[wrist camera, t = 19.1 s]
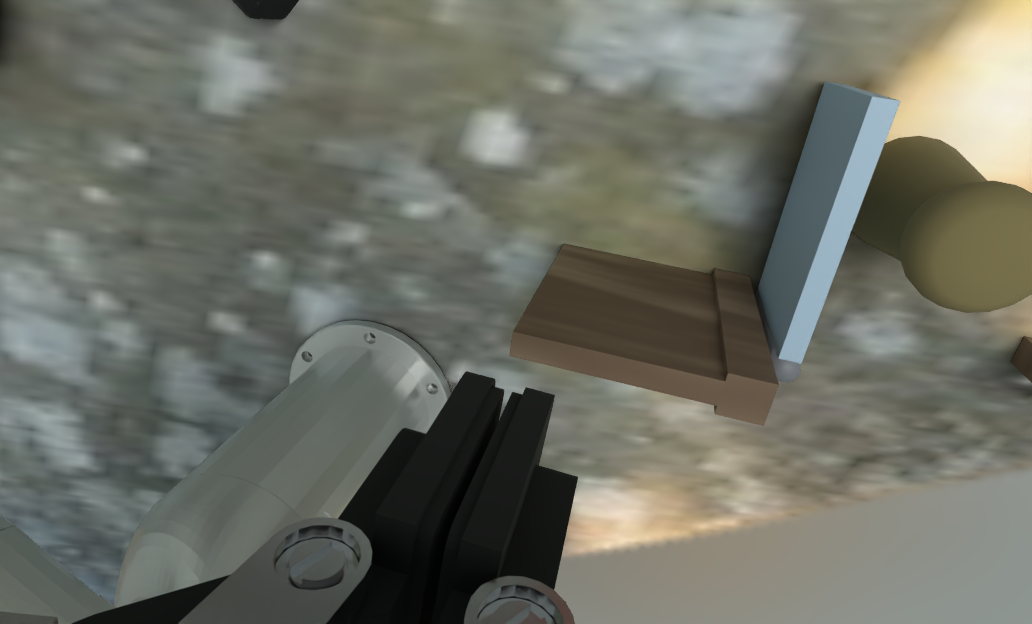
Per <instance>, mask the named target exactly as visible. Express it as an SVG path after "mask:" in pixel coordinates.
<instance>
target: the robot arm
mask: <svg viewBox="0 0 1032 624" xmlns="http://www.w3.org/2000/svg"><path fill="white" fill-rule="evenodd" d="M503 396H504V389H500V388H496V387H495V379H493V378H489V377H486V376H482V375H478V374H475V373H471V372H465V373H464V375H463V376H462V378H461V379H460V381H459V382H458V384H457V386H456V387H455V389H454V390H453V392H452V394H451V392H450V389H449V385H448V383H447V381H446V379H445V377H444V375H443V373H442V371H441V369H440V368H439V366H438V365H437V364H436V362H435V361H434V360H433V359H432V357H431V356H430V355H429V354H428V353H427V352H426V351H425V350H424V349H423V348H422V347H421V346H420V345H419V344H418V343H416V342H415V341H413V340H412V339H410V338H409V337H408V336H406V335H405V334H403V333H401V332H399V331H397V330H395V329H393V328H390V327H388V326H385V325H382V324H378V323H375V322H370V321H360V320H352V321H341V322H338V323H335V324H332V325H329V326H326V327H325V328H323V329H321V330H320V331H318V332H316V333H315V334H314V335H313V336H312V337H310V338H309V339H308V340H307V341H305V343H304V344H303V345H302V346H301V347H300V348H299V350H298V351H297V353H296V355H295V358H294V360H293V362H292V365H291V370H290V375H289V386H288V387H287V388H285V389H284V390H283V391H282V392H281V393H280V394H279V395H278V396H276V397H275V398H274V399H273V400H272V401H271V402H270V403H268V404H267V405H266V406H265V407H264V408H263V409H262V410H261V411H259V412H258V413H257V414H256V415H255V416H254V417H253V418H251V419H250V420H249V421H248V422H247V423H246V424H245V425H244V426H242V427H241V428H240V429H239V430H238V431H237V432H236V433H235V434H233V435H232V436H231V437H230V438H229V439H228V440H227V441H225V442H224V443H223V444H222V445H221V446H220V447H219V448H218V449H216V450H215V451H214V452H213V453H212V454H211V455H210V456H208V457H207V458H206V459H205V460H204V461H203V462H202V463H201V464H199V465H198V466H197V467H196V468H195V469H194V470H193V471H191V472H190V473H189V474H188V475H187V476H186V477H185V478H184V479H182V480H181V481H180V482H179V483H178V484H177V485H176V486H175V487H173V488H172V489H171V490H170V491H169V492H168V493H167V494H166V495H165V496H163V497H162V498H161V499H160V500H159V501H158V502H157V503H156V504H155V505H154V506H153V507H152V508H151V510H150V511H149V512H148V513H147V514H146V516H145V517H144V519H143V520H142V521H141V523H140V524H139V526H138V528H137V530H136V531H135V533H134V535H133V537H132V539H131V541H130V543H129V546H128V548H127V551H126V554H125V557H124V560H123V563H122V566H121V570H120V575H119V579H118V584H117V588H116V594H115V600H114V605H113V604H111V603H110V602H109V601H107V600H106V599H105V598H103V597H102V596H101V595H100V596H98V595H97V594H96V593H95V592H93V591H92V590H91V589H90V588H89V587H87V586H86V585H85V584H84V583H83V582H82V581H80V580H79V579H78V578H77V577H76V576H74V575H73V574H72V573H71V572H70V571H69V570H67V569H66V568H65V567H64V566H63V565H61V564H60V563H59V562H58V561H57V560H55V559H54V558H53V557H52V556H51V555H50V554H48V553H47V552H46V551H45V550H44V549H42V548H41V547H40V546H39V545H38V544H37V543H35V542H34V541H33V540H32V539H31V538H29V537H28V536H27V535H26V534H25V533H23V532H22V531H21V530H20V529H19V528H18V527H16V526H14V525H13V524H12V523H11V522H9V521H8V520H7V519H6V518H5V517H3V516H2V515H1V514H0V624H575V623H574V618H573V615H572V613H571V611H570V609H569V608H568V606H567V604H566V602H565V601H564V600H563V599H562V598H561V597H560V596H559V595H558V594H557V593H556V592H555V591H554V588H555V583H556V579H557V574H558V569H559V565H560V560H561V555H562V550H563V546H564V541H565V536H566V532H567V527H568V522H569V517H570V513H571V508H572V503H573V499H574V494H575V489H576V484H577V479H578V477H576V476H573V475H569V474H566V473H562V472H559V471H555V470H552V469H548V468H545V467H541V466H539V462H540V458H541V454H542V449H543V445H544V441H545V437H546V432H547V428H548V424H549V420H550V415H551V411H552V407H553V402H554V397H555V395H553V394H549V393H545V392H541V391H538V390H534V389H530V388H527V387H526V388H525V390H524V392H523V395H522V394H519V393H515V392H512V394H511V396H510V398H509V400H508V403H507V405H506V407H505V409H504V411H503V413H502V416H501V418H500V420H499V417H500V412H501V407H502V402H503Z"/></svg>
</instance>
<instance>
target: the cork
mask: <svg viewBox="0 0 1032 624" xmlns="http://www.w3.org/2000/svg"><path fill="white" fill-rule="evenodd" d="M852 231H853V232H854V233H855V234H856V236H857V237H858V238H860V239H862V240H864V241H865V242H867V243H869V244H870V245H872V246H874V247H876V248H878V249H879V250H881V251H883V252H885V253H887V254H889V255H890V256H892V257H894V258H896V259H898V260H899V261H901V263H902V266H903V269H904V272H905V275H906V277H907V278H908V279H909V281H910V282H911V283H912V284H913V286H914V287H915V288H916V289H917V290H918V292H919V293H920V294H921V295H922V296H923V297H925V298H927V299H929V300H930V301H932V302H934V303H936V304H937V305H939V306H942V307H945V308H948V309H953V310H957V311H961V312H966V313H970V312H990V311H993V310H997V309H1000V308H1004V307H1007V306H1011V305H1013V304H1015V303H1017V302H1019V301H1021V300H1022V299H1024V298H1026V297H1028V296H1029V295H1031V294H1032V193H1030V192H1029V191H1027V190H1025V189H1023V188H1021V187H1019V186H1016V185H1012V184H1007V183H1002V182H997V181H987V180H986V179H985V178H984V177H983V176H982V175H981V174H980V173H979V172H978V171H977V170H976V169H975V168H974V167H973V166H972V165H971V164H970V163H969V162H968V161H967V160H966V159H965V158H964V157H963V156H962V155H961V154H960V153H959V152H958V151H957V150H956V149H955V148H953V147H951V146H949V145H948V144H946V143H944V142H943V141H941V140H938V139H933V138H928V137H922V136H915V137H906V138H898V139H896V140H893V141H890V142H888V143H885V144H884V146H883V149H882V151H881V154H880V156H879V159H878V162H877V164H876V167H875V170H874V172H873V175H872V178H871V180H870V183H869V186H868V188H867V191H866V194H865V196H864V199H863V201H862V204H861V207H860V209H859V212H858V215H857V217H856V220H855V223H854V225H853V228H852Z"/></svg>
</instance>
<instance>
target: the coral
mask: <svg viewBox="0 0 1032 624" xmlns="http://www.w3.org/2000/svg"><path fill="white" fill-rule="evenodd" d="M298 1H299V0H233V2H234V3H235V4H236V5H237V6H238V7H239V8H240V9H241V10H242V11H243V13H244V14H245V15H246V16H247V17H249V18H254V19H260V18H263V19H283V18H285V17H286V16H287V15H288V14H289V13H290V11H291V10H292V8H293V7H294V6H295V5H296V3H297V2H298Z"/></svg>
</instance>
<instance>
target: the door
mask: <svg viewBox="0 0 1032 624" xmlns="http://www.w3.org/2000/svg"><path fill="white" fill-rule="evenodd" d="M899 103H900V101H899V100H895V99H892V98H889V97H885V96H882V95H879V94H875V93H872V92H869V91H865V90H862V89H858V88H855V87H852V86H848V85H844V84H838V83H832V82H825V83H824V86H823V89H822V92H821V95H820V98H819V101H818V105H817V108H816V111H815V114H814V117H813V120H812V123H811V126H810V129H809V132H808V135H807V138H806V142H805V145H804V148H803V151H802V154H801V157H800V160H799V163H798V166H797V169H796V172H795V175H794V178H793V182H792V185H791V188H790V191H789V194H788V197H787V200H786V203H785V206H784V209H783V212H782V215H781V218H780V222H779V225H778V228H777V231H776V234H775V237H774V240H773V243H772V246H771V249H770V252H769V255H768V258H767V262H766V265H765V268H764V271H763V274H762V277H761V280H760V283H759V286H758V290H757V291H756V292H755V294H754V295H755V299H756V303H757V307H758V310H759V314H760V318H761V321H762V325H763V329H764V332H765V336H766V340H767V343H768V347H769V351H770V354H771V358H772V362H773V366H774V369H775V373H776V377H777V380H779V381H781V382H791V381H793V380H795V379H796V378H798V376H799V375H800V371H801V369H800V365H799V363H800V364H801V363H802V360H803V358H804V355H805V352H806V350H807V347H808V344H809V342H810V339H811V337H812V334H813V331H814V329H815V326H816V323H817V321H818V318H819V315H820V313H821V310H822V307H823V305H824V302H825V299H826V297H827V294H828V292H829V289H830V286H831V284H832V281H833V278H834V276H835V273H836V270H837V268H838V265H839V262H840V260H841V257H842V254H843V252H844V249H845V246H846V244H847V241H848V239H849V236H850V233H851V231H852V228H853V225H854V223H855V220H856V217H857V215H858V212H859V209H860V207H861V204H862V201H863V199H864V196H865V194H866V191H867V188H868V186H869V183H870V180H871V178H872V175H873V172H874V170H875V167H876V164H877V162H878V159H879V156H880V154H881V151H882V149H883V146H884V143H885V141H886V138H887V135H888V133H889V130H890V127H891V125H892V122H893V119H894V117H895V114H896V111H897V109H898V106H899Z"/></svg>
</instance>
